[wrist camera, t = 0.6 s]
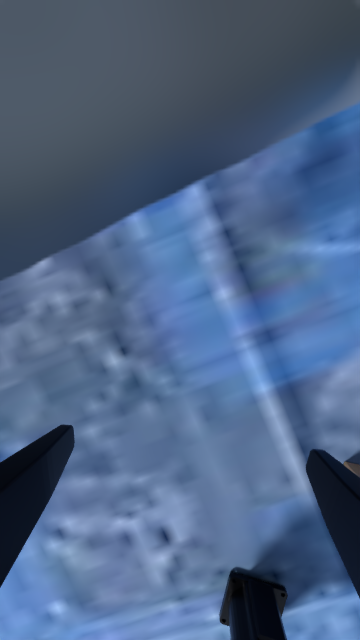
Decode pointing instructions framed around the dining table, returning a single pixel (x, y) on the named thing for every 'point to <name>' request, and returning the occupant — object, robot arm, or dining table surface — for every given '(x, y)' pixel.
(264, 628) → the robot arm
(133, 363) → the dining table surface
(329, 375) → the dining table surface
